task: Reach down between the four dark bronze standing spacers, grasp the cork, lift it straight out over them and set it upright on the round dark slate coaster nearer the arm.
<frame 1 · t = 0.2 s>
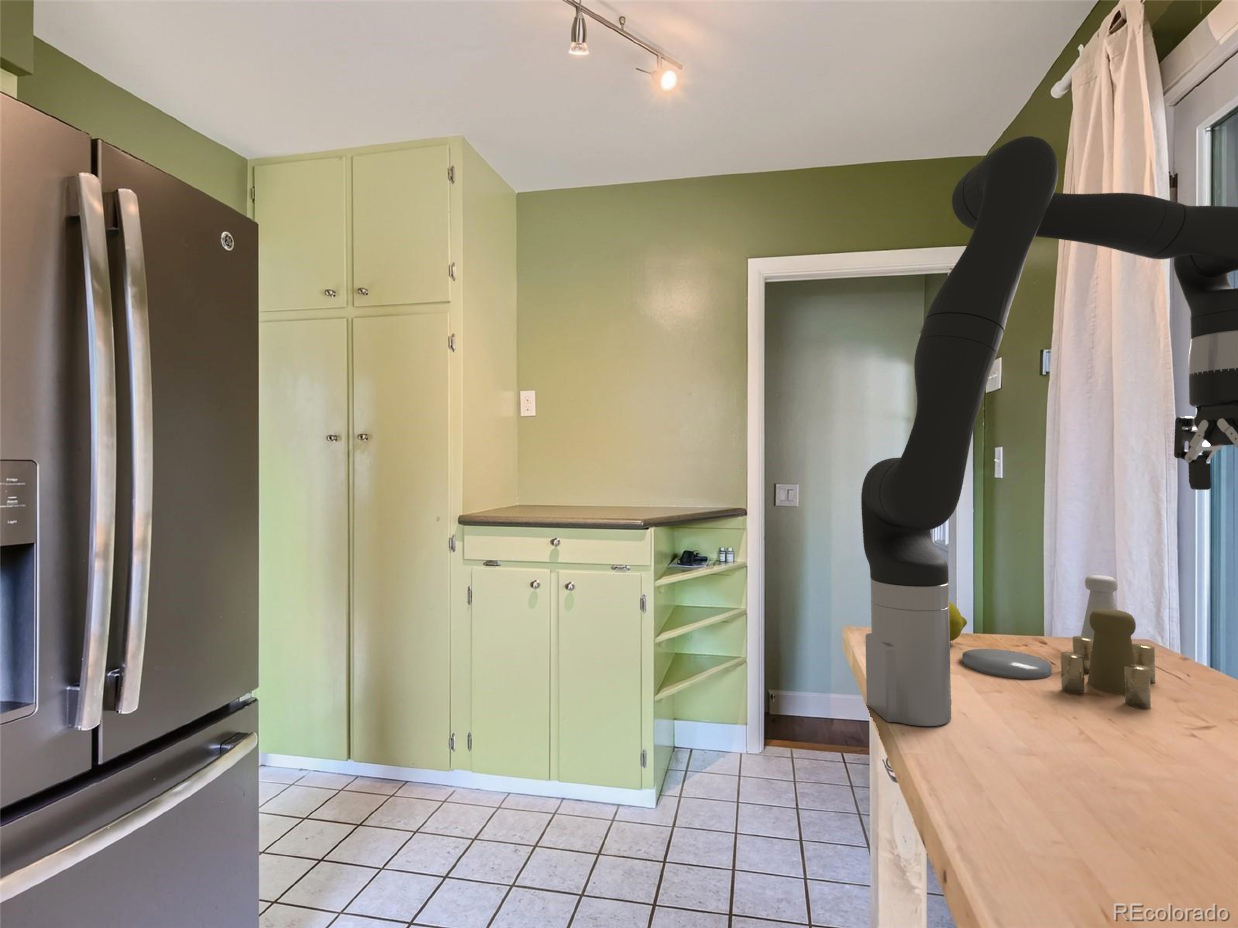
hand: (1229, 490, 81), 28 cm above the table, tool pointing down, fingers open, 8 cm apart
slate coaster: (1005, 666, 97), on the table
spacer a: (1143, 679, 90), on the table
lemon: (933, 643, 111), on the table
salt shaker: (1102, 654, 103), on the table
spacer c: (1072, 691, 86), on the table
cork: (1113, 688, 87), on the table
spacer d: (1137, 705, 81), on the table
spacer b: (1083, 670, 94), on the table
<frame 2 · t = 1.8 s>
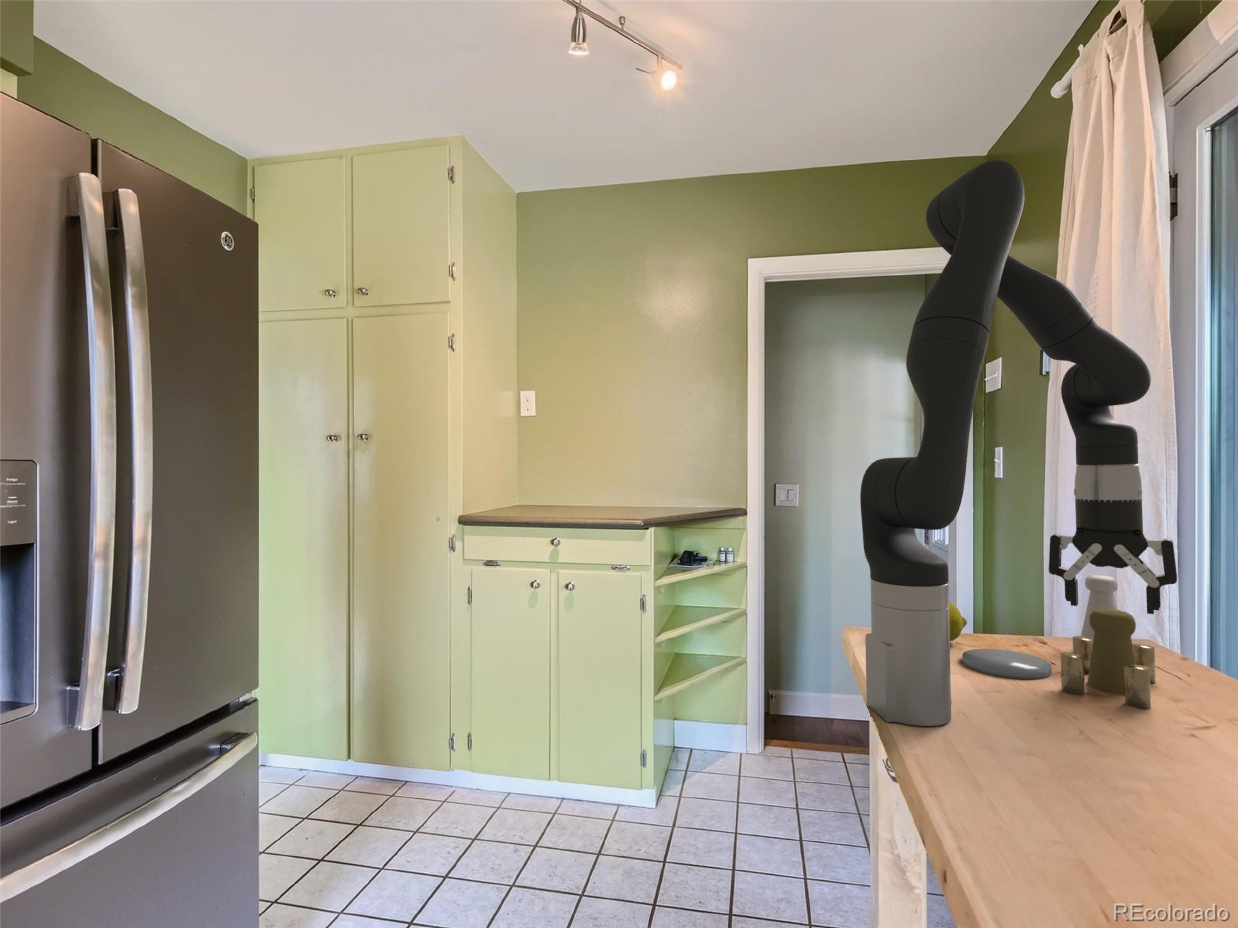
hand: (1111, 608, 88), 11 cm above the table, tool pointing down, fingers open, 8 cm apart
nothing on the table moved.
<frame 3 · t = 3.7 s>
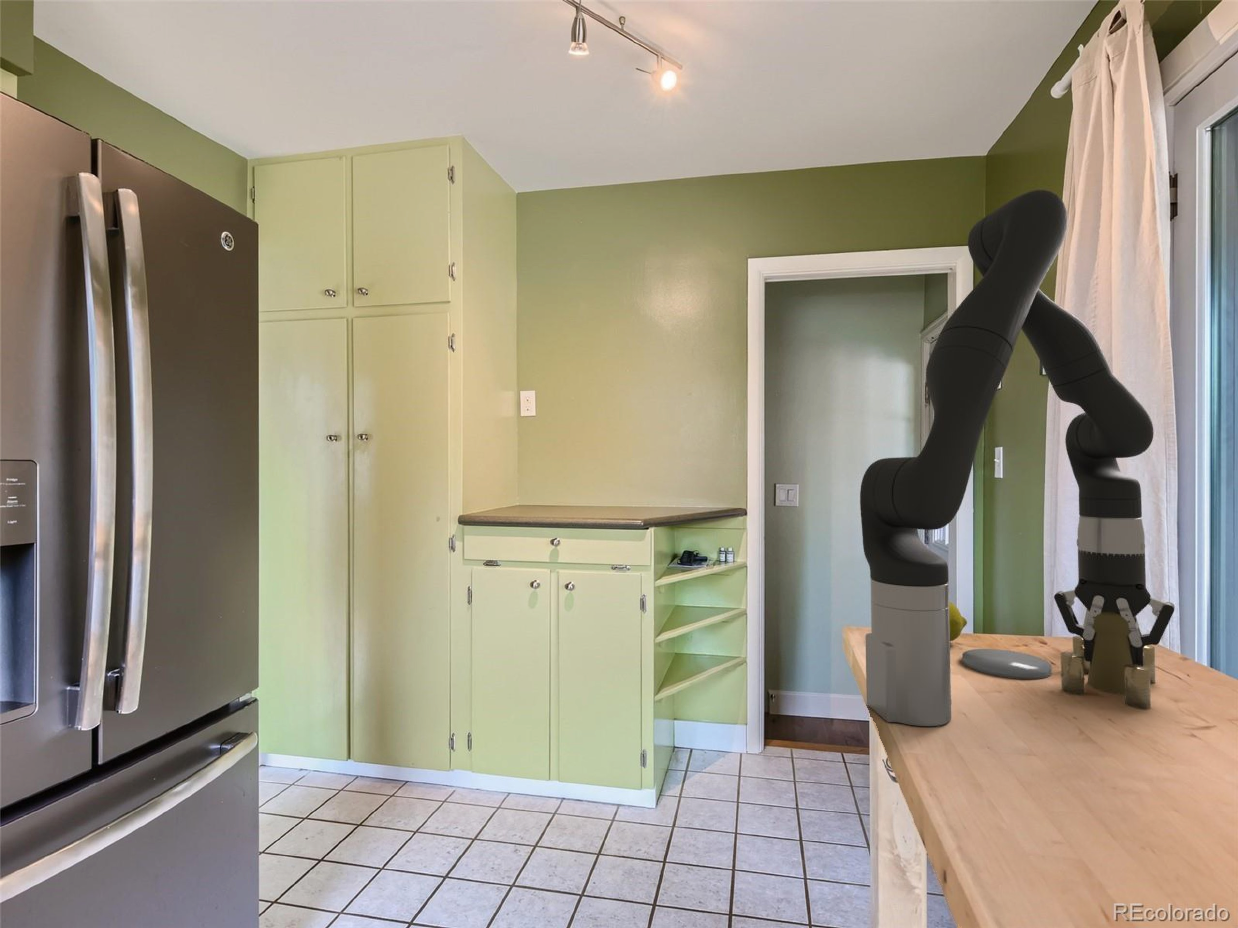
hand: (1113, 667, 87), 3 cm above the table, tool pointing down, fingers closed on cork, 4 cm apart
cork: (1113, 688, 87), on the table, touching gripper
everything else where it was.
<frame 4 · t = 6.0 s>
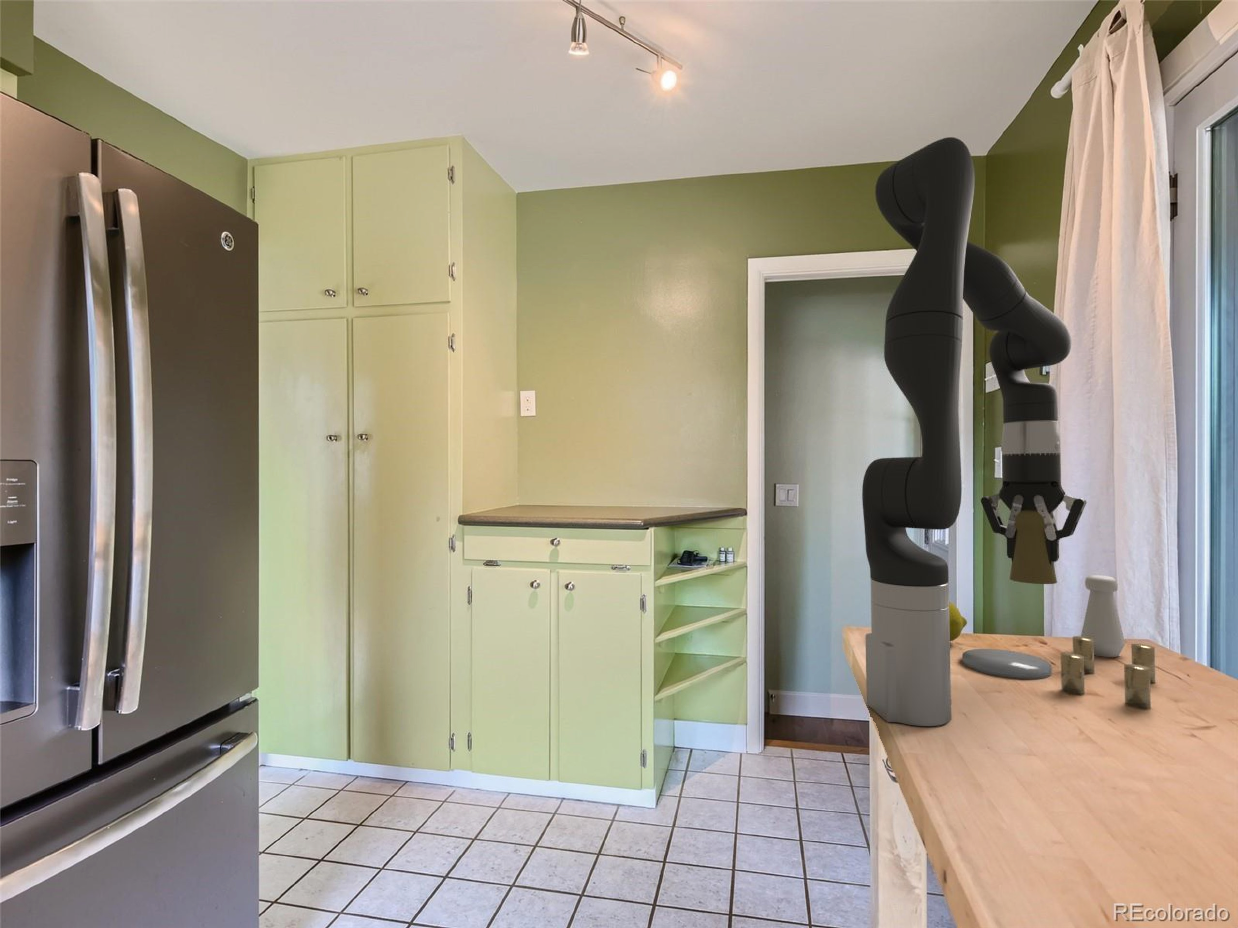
hand: (1032, 562, 94), 17 cm above the table, tool pointing down, fingers closed on cork, 4 cm apart
cork: (1032, 581, 94), point 14 cm above the table, touching gripper
everything else where it was.
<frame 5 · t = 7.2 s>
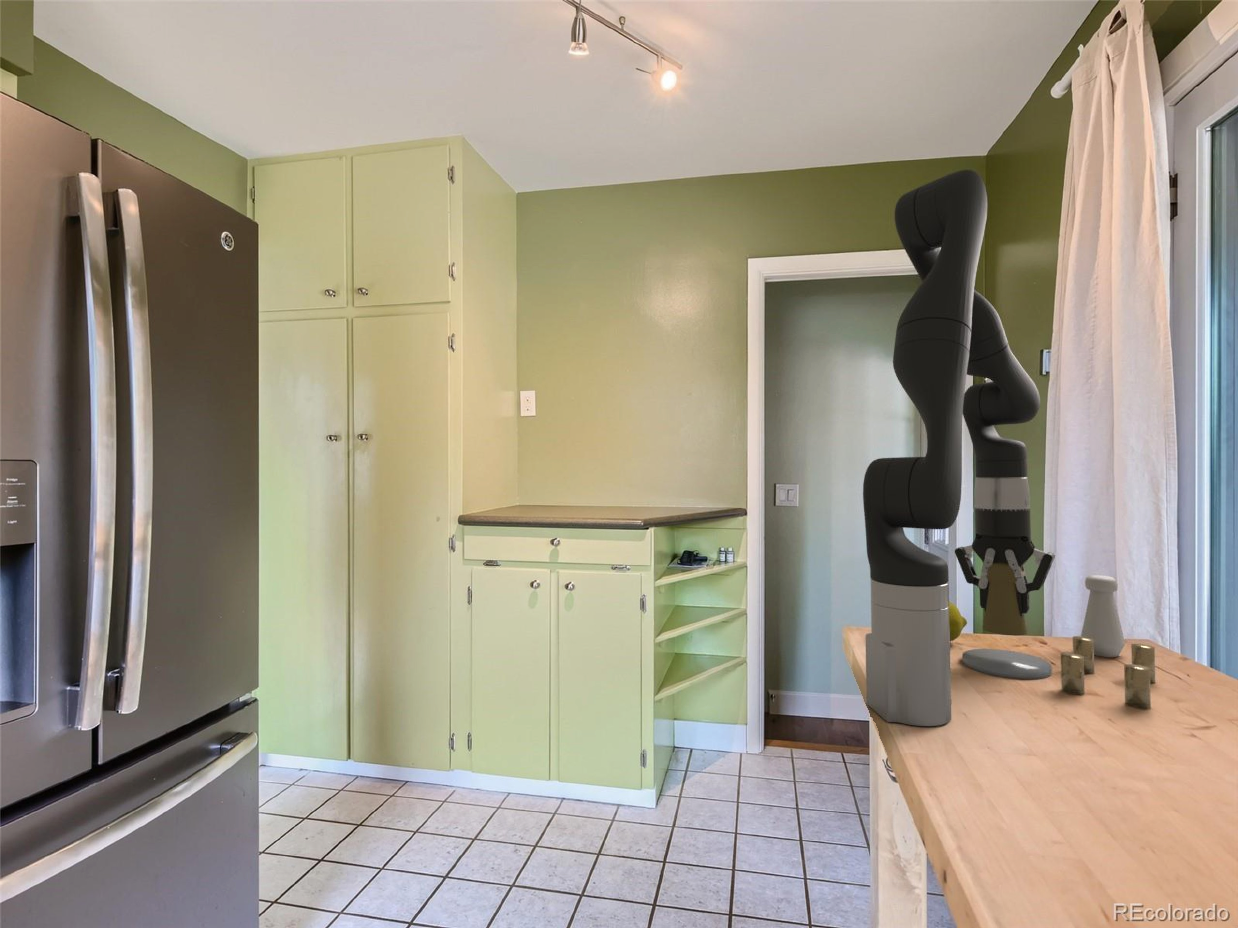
hand: (1004, 612, 97), 8 cm above the table, tool pointing down, fingers closed on cork, 4 cm apart
cork: (1004, 631, 97), point 5 cm above the table, touching gripper
everything else where it was.
when the fingers open (5 cm above the table, at t = 8.2 s): cork drops 1 cm, resting on slate coaster.
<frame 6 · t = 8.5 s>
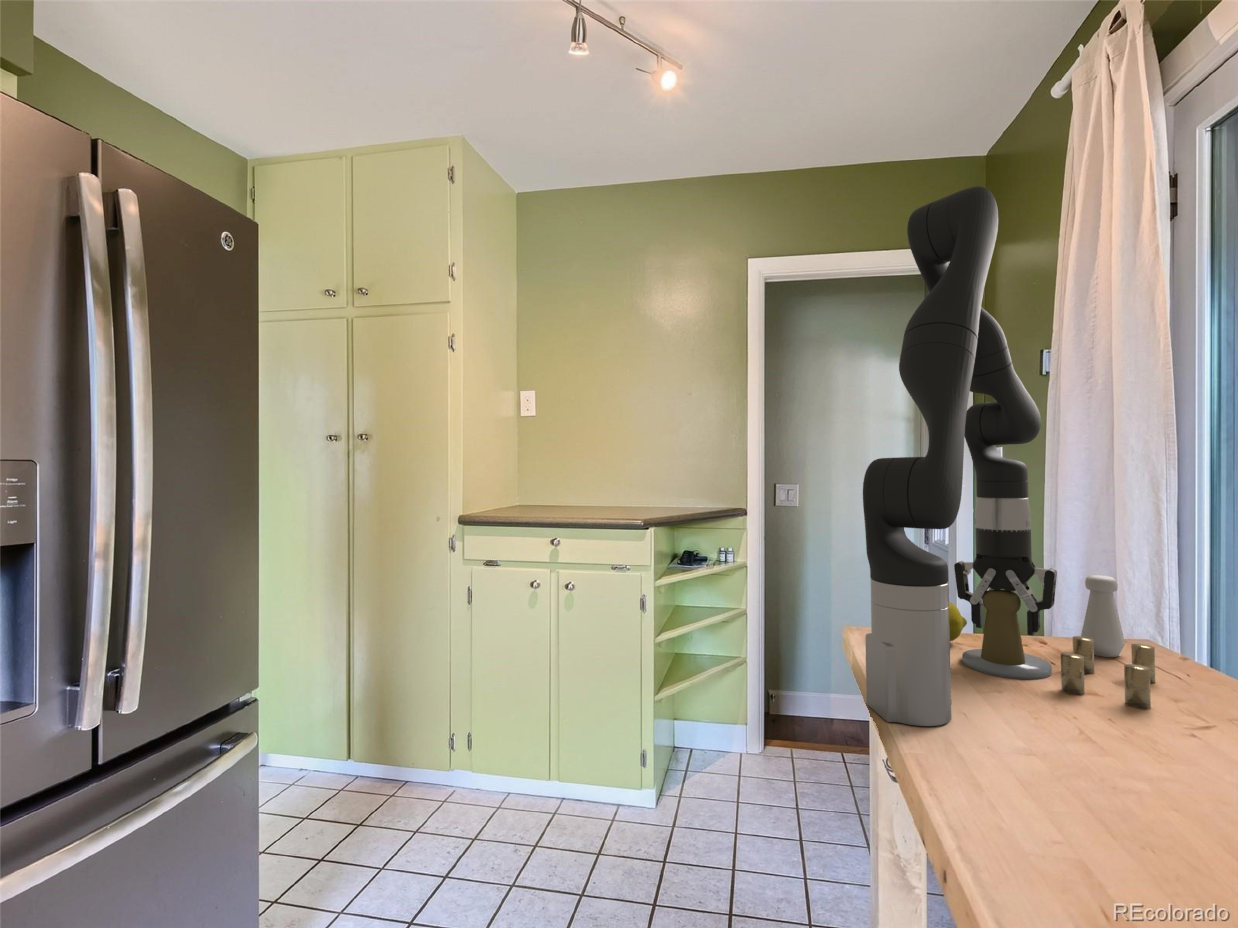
hand: (1004, 630, 97), 6 cm above the table, tool pointing down, fingers open, 6 cm apart
cork: (1002, 660, 97), point 1 cm above the table, touching slate coaster
everything else where it was.
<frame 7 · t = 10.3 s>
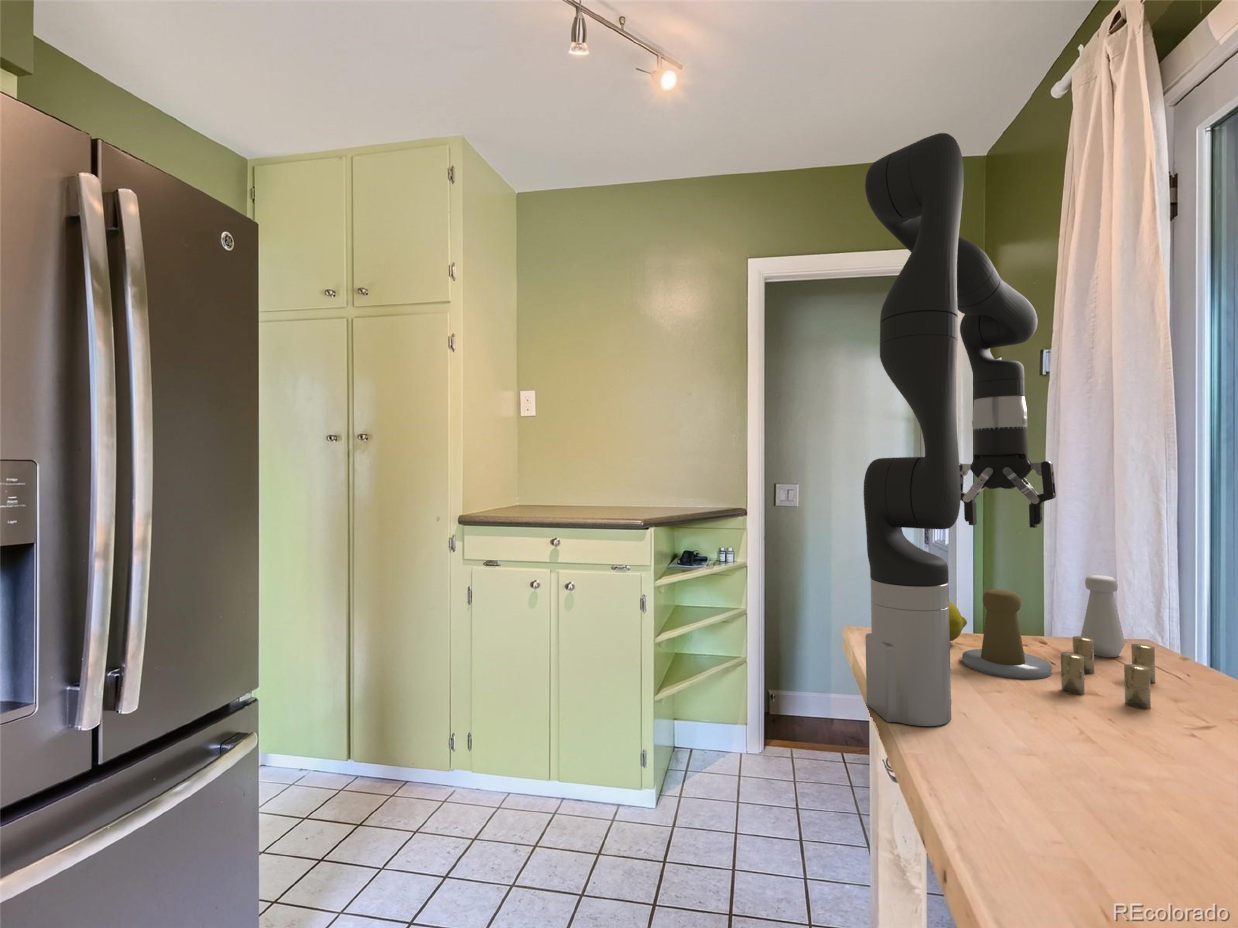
hand: (1002, 526, 99), 22 cm above the table, tool pointing down, fingers open, 8 cm apart
nothing on the table moved.
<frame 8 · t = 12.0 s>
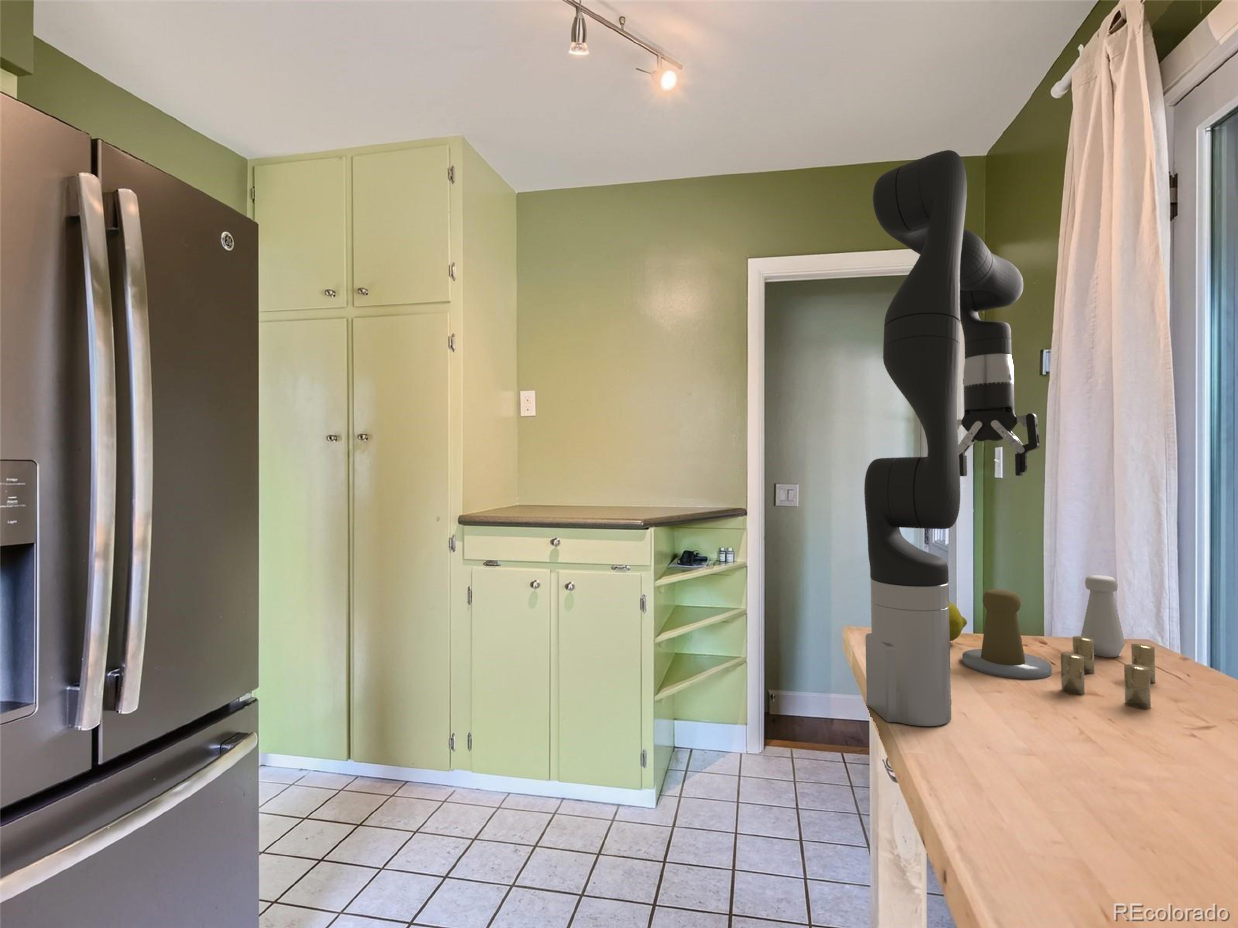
hand: (990, 476, 106), 30 cm above the table, tool pointing down, fingers open, 8 cm apart
nothing on the table moved.
at the end: cork inside the target area on the slate coaster (0.4 cm from its centre), point 0.8 cm above the slate coaster's base; cork tilted 0°; the gripper is holding nothing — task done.
